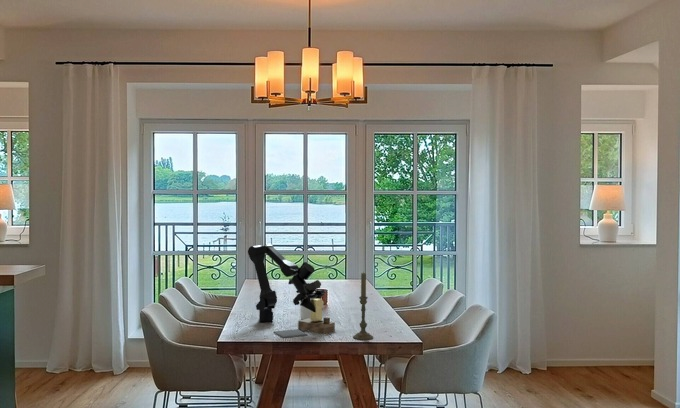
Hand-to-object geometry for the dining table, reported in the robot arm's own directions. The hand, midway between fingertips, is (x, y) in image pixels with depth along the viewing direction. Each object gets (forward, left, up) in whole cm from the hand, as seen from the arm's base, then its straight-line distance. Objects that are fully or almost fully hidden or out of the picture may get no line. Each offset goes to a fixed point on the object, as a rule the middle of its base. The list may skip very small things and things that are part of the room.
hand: (318, 311), depth 292 cm
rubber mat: (-14, -6, -9) cm, 18 cm away
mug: (+1, +26, -9) cm, 28 cm away
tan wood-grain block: (-1, +1, -5) cm, 5 cm away
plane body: (-1, +1, -9) cm, 9 cm away
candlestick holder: (+17, -19, -9) cm, 27 cm away
